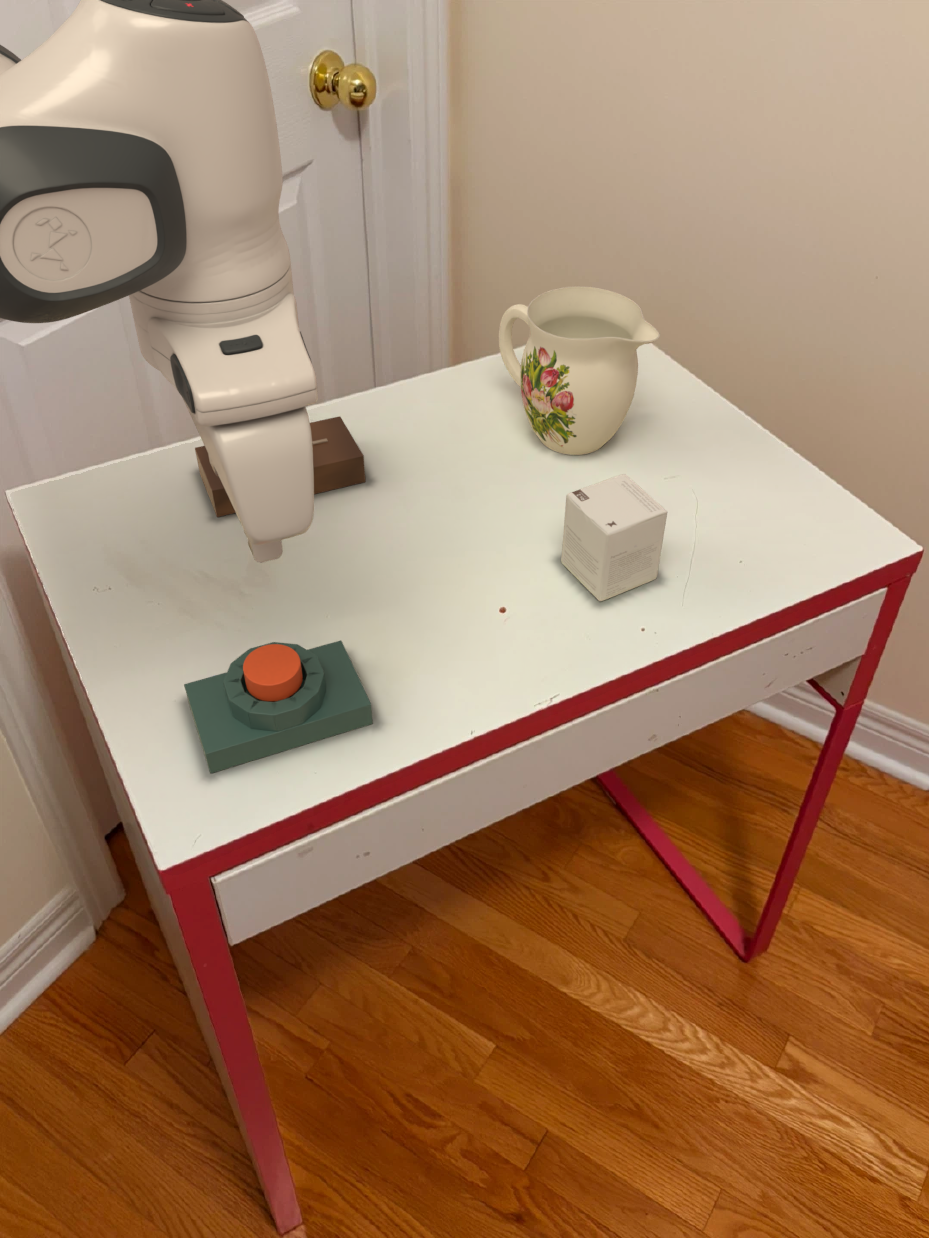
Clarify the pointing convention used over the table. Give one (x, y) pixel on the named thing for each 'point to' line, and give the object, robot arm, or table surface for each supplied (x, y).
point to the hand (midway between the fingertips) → (245, 510)
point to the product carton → (612, 536)
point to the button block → (277, 708)
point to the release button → (272, 672)
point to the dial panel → (331, 463)
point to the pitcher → (576, 364)
